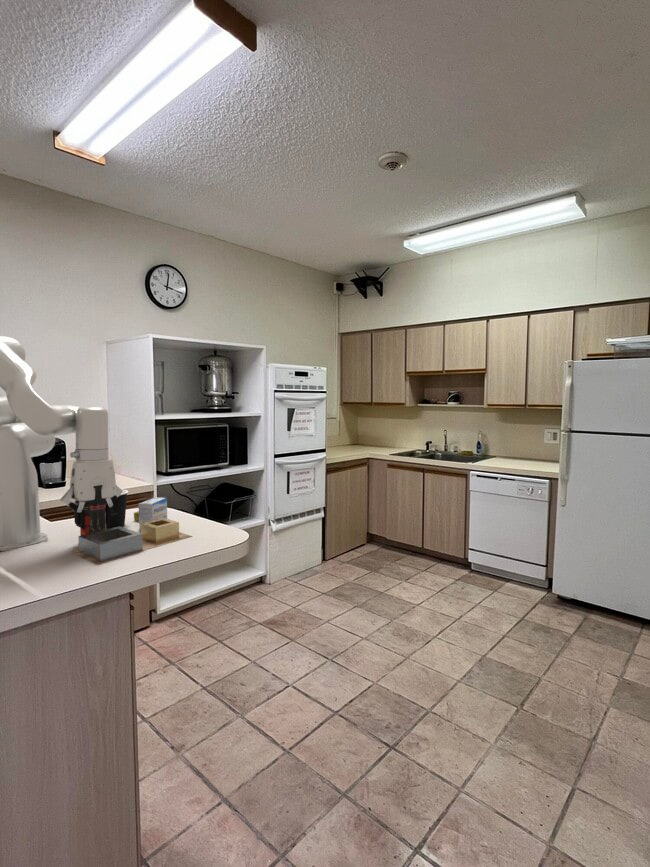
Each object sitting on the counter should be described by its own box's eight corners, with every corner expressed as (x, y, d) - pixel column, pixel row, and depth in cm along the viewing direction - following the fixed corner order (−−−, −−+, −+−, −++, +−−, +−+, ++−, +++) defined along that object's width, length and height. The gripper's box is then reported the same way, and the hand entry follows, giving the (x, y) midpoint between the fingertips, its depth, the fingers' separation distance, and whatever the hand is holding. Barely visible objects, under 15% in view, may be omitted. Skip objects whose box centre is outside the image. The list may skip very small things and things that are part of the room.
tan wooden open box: (141, 538, 124) (140, 523, 124) (164, 532, 130) (163, 517, 129) (156, 543, 120) (155, 528, 120) (179, 536, 125) (178, 522, 125)
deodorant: (109, 541, 121) (109, 484, 120) (84, 545, 117) (84, 487, 116) (101, 535, 126) (100, 480, 124) (77, 539, 122) (76, 483, 120)
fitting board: (72, 557, 113) (72, 553, 113) (166, 531, 133) (166, 528, 133) (97, 568, 106) (96, 564, 105) (192, 539, 126) (192, 536, 126)
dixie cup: (124, 523, 141) (123, 488, 140) (132, 530, 135) (131, 492, 134) (96, 528, 136) (94, 491, 135) (103, 535, 130) (101, 496, 129)
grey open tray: (79, 552, 113) (78, 536, 113) (120, 541, 122) (119, 526, 121) (100, 561, 107) (99, 544, 107) (142, 549, 115) (142, 533, 115)
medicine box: (153, 534, 131) (152, 503, 131) (138, 533, 132) (137, 503, 131) (168, 526, 139) (167, 497, 138) (154, 525, 140) (153, 496, 139)
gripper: (63, 460, 110) (64, 534, 112) (131, 453, 124) (132, 520, 126) (49, 456, 115) (51, 528, 117) (117, 450, 129) (117, 515, 130)
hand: (93, 523), depth 121 cm, fingers closed on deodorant, 5 cm apart
